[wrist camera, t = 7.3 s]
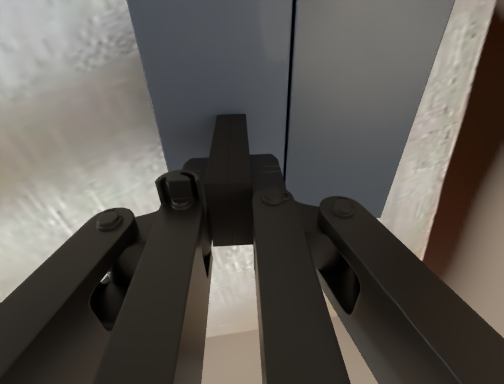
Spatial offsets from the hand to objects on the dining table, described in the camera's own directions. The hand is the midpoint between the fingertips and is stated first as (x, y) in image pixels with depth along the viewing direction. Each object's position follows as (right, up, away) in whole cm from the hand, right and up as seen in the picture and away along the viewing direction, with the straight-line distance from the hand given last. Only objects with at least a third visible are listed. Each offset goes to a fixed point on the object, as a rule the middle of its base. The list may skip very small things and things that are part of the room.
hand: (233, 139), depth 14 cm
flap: (-1, 0, +1) cm, 1 cm away
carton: (+2, +7, +9) cm, 12 cm away
